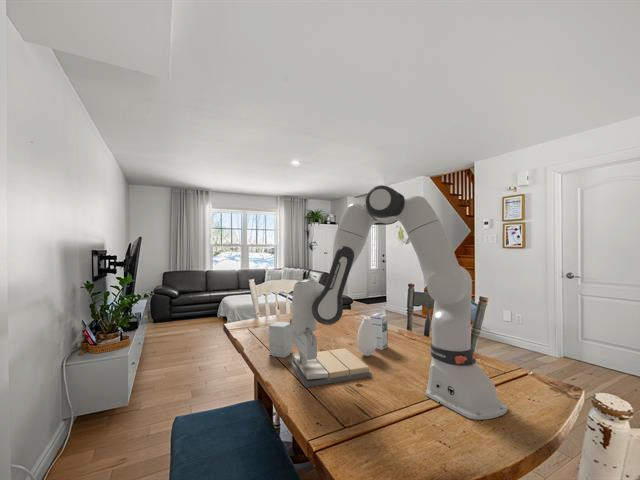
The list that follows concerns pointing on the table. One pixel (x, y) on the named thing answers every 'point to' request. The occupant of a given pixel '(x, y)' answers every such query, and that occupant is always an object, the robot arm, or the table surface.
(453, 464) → the table surface
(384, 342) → the syrup box
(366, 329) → the sauce bottle
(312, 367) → the whitewashed plank
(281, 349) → the supplement box
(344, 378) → the floor panel
